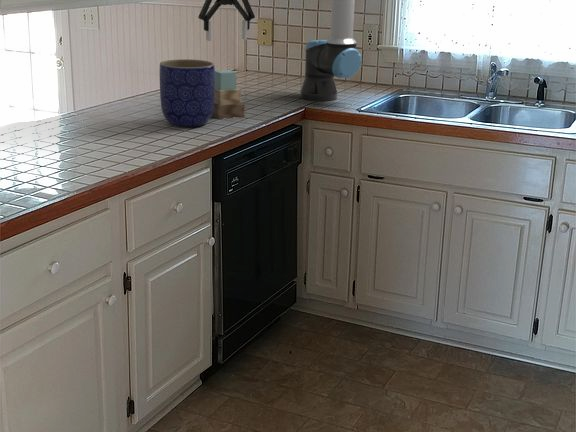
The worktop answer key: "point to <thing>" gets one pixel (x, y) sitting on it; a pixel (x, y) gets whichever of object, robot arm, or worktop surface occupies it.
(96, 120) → the worktop surface
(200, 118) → the planter
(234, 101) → the tower top
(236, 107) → the tower base
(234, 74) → the teal cube
